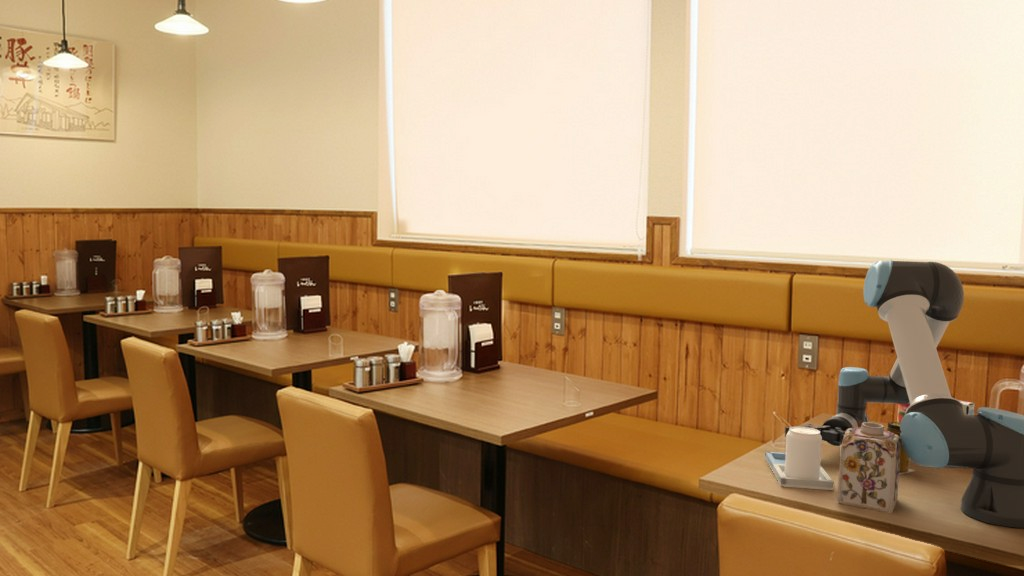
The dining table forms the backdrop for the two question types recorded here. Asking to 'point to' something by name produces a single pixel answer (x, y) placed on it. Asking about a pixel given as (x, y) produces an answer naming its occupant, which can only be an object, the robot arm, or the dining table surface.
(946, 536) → the dining table surface
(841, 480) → the decorative jar
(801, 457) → the beverage can
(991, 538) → the dining table surface
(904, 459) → the condiment
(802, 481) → the divided tray
